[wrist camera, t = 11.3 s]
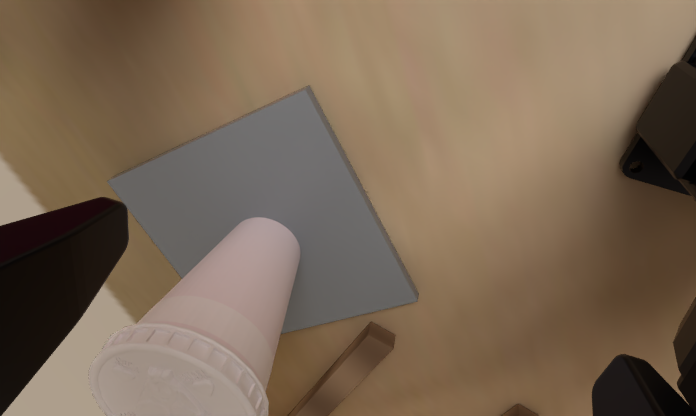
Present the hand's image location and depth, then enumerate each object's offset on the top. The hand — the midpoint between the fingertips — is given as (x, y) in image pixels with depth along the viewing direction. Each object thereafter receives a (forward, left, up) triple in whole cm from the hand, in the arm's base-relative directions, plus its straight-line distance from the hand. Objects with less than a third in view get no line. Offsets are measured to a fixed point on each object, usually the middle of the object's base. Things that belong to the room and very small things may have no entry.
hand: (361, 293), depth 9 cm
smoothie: (+5, +10, -13) cm, 17 cm away
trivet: (+5, +10, -13) cm, 17 cm away
